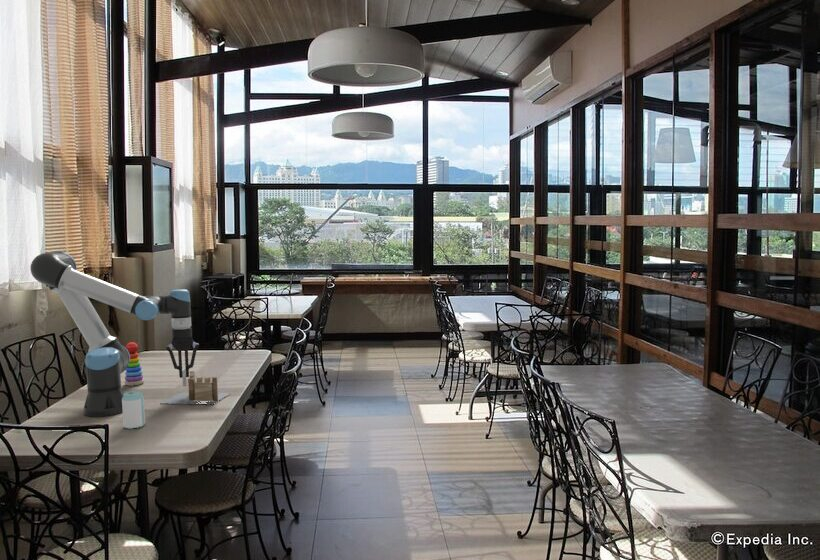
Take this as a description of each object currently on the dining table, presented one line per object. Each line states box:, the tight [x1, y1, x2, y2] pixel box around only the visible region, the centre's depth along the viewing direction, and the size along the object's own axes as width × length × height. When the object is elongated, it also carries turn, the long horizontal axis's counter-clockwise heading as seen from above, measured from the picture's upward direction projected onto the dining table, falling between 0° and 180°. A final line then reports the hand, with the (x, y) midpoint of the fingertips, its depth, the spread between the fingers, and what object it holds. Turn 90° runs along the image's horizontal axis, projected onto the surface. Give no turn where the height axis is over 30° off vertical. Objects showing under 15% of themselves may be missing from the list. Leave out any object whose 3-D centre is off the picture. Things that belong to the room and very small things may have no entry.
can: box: [122, 390, 146, 430], centre depth 234 cm, size 7×7×12 cm
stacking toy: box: [124, 341, 145, 387], centre depth 296 cm, size 8×8×19 cm
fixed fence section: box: [187, 376, 219, 401], centre depth 265 cm, size 2×12×10 cm, turn 81°
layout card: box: [160, 392, 231, 406], centre depth 269 cm, size 16×22×1 cm
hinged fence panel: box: [189, 370, 196, 380], centre depth 272 cm, size 2×9×9 cm, turn 16°
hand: (184, 385), depth 272 cm, fingers closed
